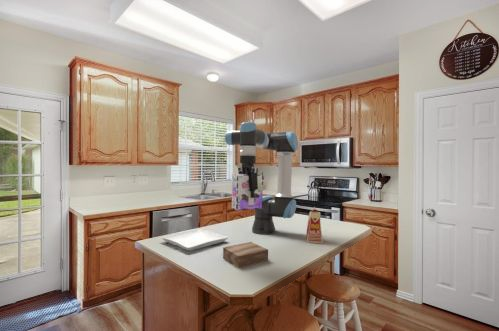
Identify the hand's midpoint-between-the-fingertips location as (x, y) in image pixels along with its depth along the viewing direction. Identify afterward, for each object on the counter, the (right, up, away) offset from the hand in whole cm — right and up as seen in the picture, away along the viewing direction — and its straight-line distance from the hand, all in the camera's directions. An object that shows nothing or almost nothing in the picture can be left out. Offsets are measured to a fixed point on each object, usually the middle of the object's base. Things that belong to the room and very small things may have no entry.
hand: (247, 203), depth 126 cm
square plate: (-30, -26, +23) cm, 46 cm away
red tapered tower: (+39, -26, +29) cm, 55 cm away
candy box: (0, -3, 0) cm, 3 cm away
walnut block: (-1, -26, -2) cm, 26 cm away
